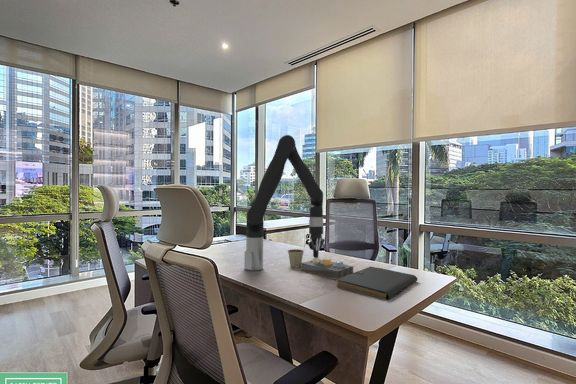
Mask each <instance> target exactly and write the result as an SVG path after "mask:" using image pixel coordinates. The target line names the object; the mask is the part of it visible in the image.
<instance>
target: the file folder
mask: <svg viewBox="0 0 576 384" xmlns="http://www.w3.org/2000/svg"><path fill="white" fill-rule="evenodd" d="M416 281H417V282H418V277H417V276H416V275H414V274H410V273H405V272H401V271H395V270H392V269H386V268H382V267H374V266H368V267H366V268H363V269H361V270H358V271H355V272H353V273H352V274H350V275H347V276H345V277H342V278H340V279H336V288H339V289H343V290H347V291H351V292H354V293H358V294H362V295H367V296H371V297H375V298H378V299H382V300H387V299H388V300H390V299H392V298H393V297H394V296H396V295H398V294H399V293H401V292H403V291H405V290H406V289H407V288H409V287H410V286H412V285H414V284H415V283H417V282H416ZM413 283H414V284H413ZM405 288H406V289H405ZM402 290H403V291H402Z"/></svg>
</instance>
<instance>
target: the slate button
mask: <svg viewBox="0 0 576 384" xmlns="http://www.w3.org/2000/svg"><path fill="white" fill-rule="evenodd" d="M343 264H344V261H341V260H340V261H339V260H337V261H335V268H338V269H342V268H343Z"/></svg>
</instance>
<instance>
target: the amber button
mask: <svg viewBox="0 0 576 384" xmlns="http://www.w3.org/2000/svg"><path fill="white" fill-rule="evenodd" d="M322 260H323V265H324V266H331V262H332V259H331V258H323V259H322Z"/></svg>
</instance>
